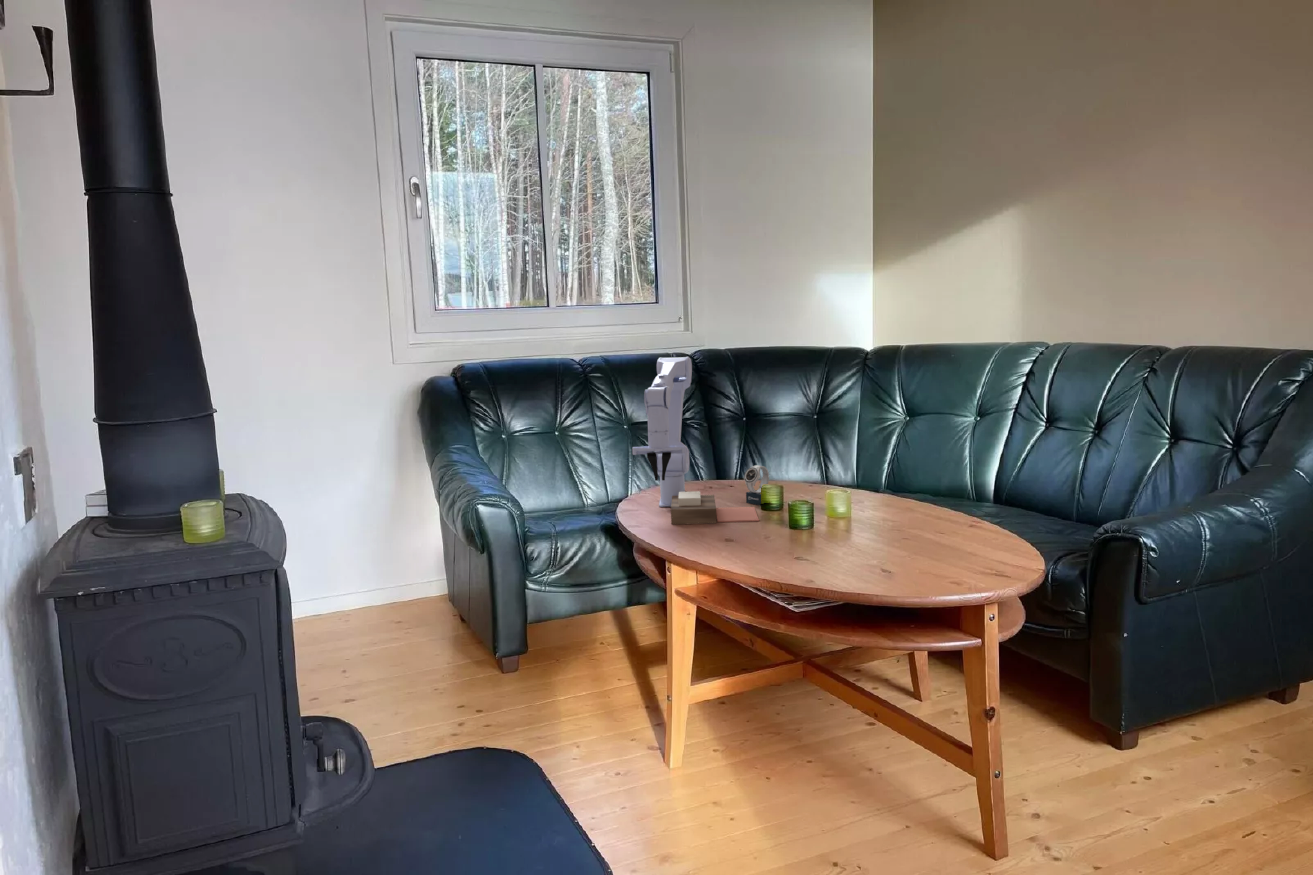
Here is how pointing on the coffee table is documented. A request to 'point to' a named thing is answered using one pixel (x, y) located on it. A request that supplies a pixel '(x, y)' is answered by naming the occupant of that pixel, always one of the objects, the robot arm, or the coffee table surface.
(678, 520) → the brown wooden block
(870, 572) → the coffee table surface
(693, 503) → the tile
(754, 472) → the watch
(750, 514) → the mat
